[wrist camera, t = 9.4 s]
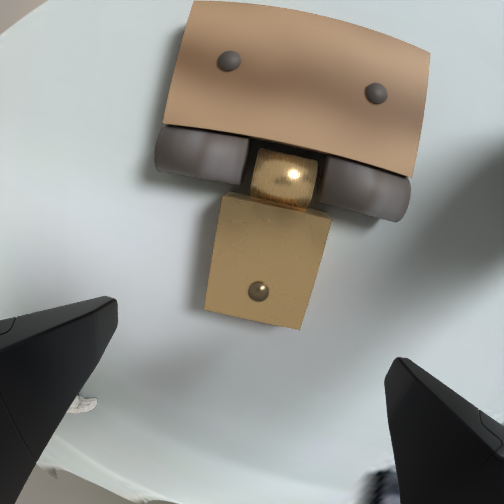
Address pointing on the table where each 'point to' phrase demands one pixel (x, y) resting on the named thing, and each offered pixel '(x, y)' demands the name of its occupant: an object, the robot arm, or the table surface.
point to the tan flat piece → (296, 101)
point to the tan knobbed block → (268, 244)
